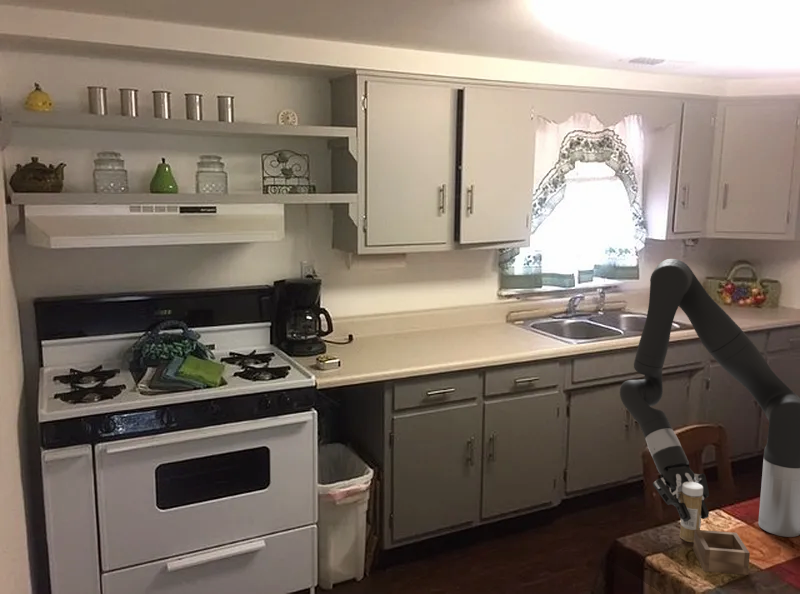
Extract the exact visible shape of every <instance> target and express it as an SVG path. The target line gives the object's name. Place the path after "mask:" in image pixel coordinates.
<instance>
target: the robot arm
mask: <svg viewBox="0 0 800 594" xmlns="http://www.w3.org/2000/svg"><path fill="white" fill-rule="evenodd" d="M649 280H650V282H649V284H650V285H649V297H648V298H649V299H648V308H647V309H648V310H647V314H646V318H645V323H644V325H643V329H642V333H641V336H640V337H639V338H640V339H639V342H638V347H637V350H636V353H635V357H634V361H633V369H634V370H635V371H636V372H637V373H639V374H641V375H643V376H644V377H643V378H642V379H628V380H625V381H623V382H622V384H621V385H620V387H619V397H620V400H621V402H622V404H623V405H624V407H625V408H626V409H627V411H628V412H629V414H630V415H631V416H632V417H633V419H634V420H635V422H637V424H638V425H639V427H640V429H641V432H642V434H643V437H644V439H645V442H646V444H647V448H648V451H649V453H650V455H651V457H652V461H653V462H654V465H655V467H656V470H657V472H658V473H659V474H660V478H657V479H656V480H655V481H654V482H653V483H652V486H653V487H654V488H655V490H656V491H657V493H658V494H659V496H660V497H661V498H662V500H663V501H664V503H665V504H667V505H668V506H670V505H672V506H674V507H675V509H676V511H677V512H678V515H679V517H680V520H681V519H683V521H684V522H685V521H688V520H690V519H691V517H690V514H689V512H688V510H687V508H686V505H685V503H683V498H682V495H683V493H682V484H683V483H684V482H696V483H699V484H701V485H702V486H703V495H702V505H701V520H705V519H707V518H708V517H709V516H710V511H709V509H708V507H707V504H706V502H705V499H707V498H708V497H710V493H709V491H710V490H709V487H708V481H707V475H706V474H705V473H703V472H702V473H700V474H699V473H694V471H693V470H692V469H691V468H690V462H689V460H688V457H687V455H686V453H685V450H684V448H683V447H682V445H681V442H680V439H679V438H678V436H677V434H676V433H675V431H674V429H673V427H672V425H671V423H670V421H669V419H668V417H667V415H666V413H665V411H663V410H661V409H658V408H657V409H656V408H653V406H656V405H657V404H658V403H659V402H660V401H661V399H662V397H663V392H664V391H663V367H664V365H665V361H666V357H667V352H668V349H669V345H670V338H671V331H672V326H673V322H674V319H675V316H676V313H677V311H678V308H680V309H681V310H682V311H683V312H684V315H686V317H687V318H688V319H689V322H690V323H691V326H692V328H693V329H694V331H695V333H696V335H697V337H698V338H699V340H700V342H701V344H702V345H703V347H704V348H705V349H706V350H707V352H708V353H709V354H710V355H711V356H712V358H714V360H715V361H716V362H717V363H718V364H719V366H721V368H722V369H723V370H725V371H726V372H727V373H728V374H729V375H730V377H732V378H733V379H734V380H736V381H737V382H738V383H739V384H741V385H742V386H743V387H744V388H745V389H746V390H748V392H749V393H750V394H751V396H752V397H753V398H754V400H755V401H756V403H757V404H758V405H759V406H760V408H761V410H762V411H763V413H764V414H765V417H766V419H767V420H768V428H767V429H768V430H767V433H768V434H767V440H766V445H765V447H764V450H763V462H762V474H761V475H762V476H761V485H760V487H761V488H760V499H759V510H758V511H759V512H758V527H759V528H761V529H762V530H764V531H766V532H767V533H770V534H771V535H775V536H778V537H779V536H780V537H784V538H787V537H789V538H792V537H793V538H795V537H798V536H800V396H799V395H797V394H796V392H794V390H792V389H791V388H790V387H789V386H788V385H787V384H786V383H785V382H783V380H781V379H780V378H779V376H778V375H777V374H776V373H775V372H774V371H773V369H771V367H770V365H769V363H768V362H767V361H766V359H765V358H764V355H763V354H762V353H761V351H760V350H759V348H757V346H756V345H755V344H754V342H753V341H752V339H750V338H749V336H748V335H747V334H746V333H745V331H744V330H742V328H741V327H740V326H739V324H737V323H736V322H735V321H734V320H733V319H732V318H731V317H730V316H729V314H727V312H726V311H725V310H724V309H723V308H722V307H721V306H720V305H719V304H718V303H717V302H716V301H715V300H714V299H713V298H712V297H711V296H710V294H709V293H708V292H707V290H706V289H705V288H704V286H703V285H702V283H701V282H700V281H699V279H698V278H697V276H696V275H695V273H694V272H693V270H692V268H691V267H690V266H689V265H688V264H687V263H685V262H684V261H682V260H681V259H676V258H668V259H664V260H663V261H661V262H660V263H658V264H657V266H656V267H655V268H654V270H653V271H652V273H651V275H650V279H649Z"/></svg>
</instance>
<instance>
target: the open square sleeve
mask: <svg viewBox="0 0 800 594" xmlns="http://www.w3.org/2000/svg"><path fill="white" fill-rule="evenodd" d="M692 549H693V553H694V554H695V556H696V558H697V560H698V562H699V565H700V567H701V569H702V570H703V572H709V573H711V572H712V573H722V574H723V573H724V574H732V575H733V574H734V575H746V576H747V575H748V576H749V568H750V555H751V553H750V551H749V549H748V547H747V546H746V544H744V542H743V541H742V539H741V537H740V536H739V534H738V533H737V532H731V531H717V530H707V529H706V530H703V529H700V530H694V543H693V546H692Z"/></svg>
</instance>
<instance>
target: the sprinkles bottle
mask: <svg viewBox="0 0 800 594" xmlns="http://www.w3.org/2000/svg"><path fill="white" fill-rule="evenodd" d="M702 495H703V486H702V485H701V484H699V483H696V482H695V481H694V482H684V483H683V484H682V498H683V503H685V505H686V508H687V510H688V512H689V514H690V517H691V519H690V520H688V521H685V522H684V521H683V519H681V518H680V532H679V537H680V539H681V540H683V541H685V542H687V543H692V544H694V530H701V528H702V527H701V524H702V519H701V505H702Z"/></svg>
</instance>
